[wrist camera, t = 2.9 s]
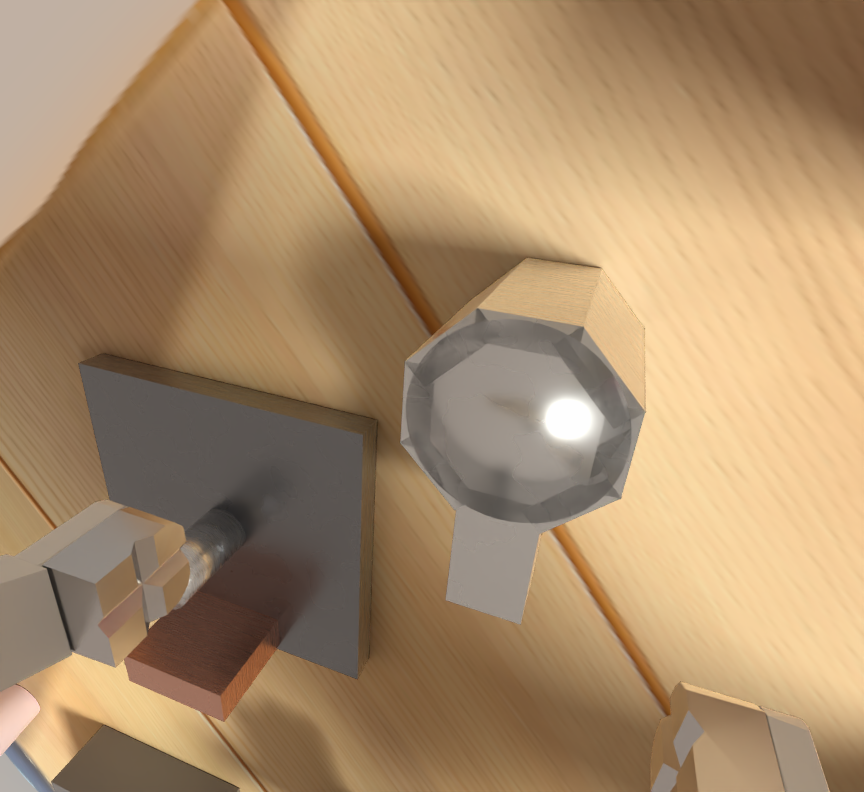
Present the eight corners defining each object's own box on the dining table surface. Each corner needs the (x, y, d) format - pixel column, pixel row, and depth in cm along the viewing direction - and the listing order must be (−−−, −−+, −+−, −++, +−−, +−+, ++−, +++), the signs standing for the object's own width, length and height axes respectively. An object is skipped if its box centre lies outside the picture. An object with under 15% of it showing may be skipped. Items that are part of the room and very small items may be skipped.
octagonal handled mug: (658, 276, 19) (666, 339, 13) (595, 518, 23) (578, 648, 17) (477, 249, 20) (408, 295, 14) (451, 480, 25) (391, 587, 19)
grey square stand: (377, 419, 25) (301, 499, 19) (368, 658, 32) (311, 765, 27) (102, 353, 29) (-24, 403, 24) (149, 576, 36) (60, 655, 31)
